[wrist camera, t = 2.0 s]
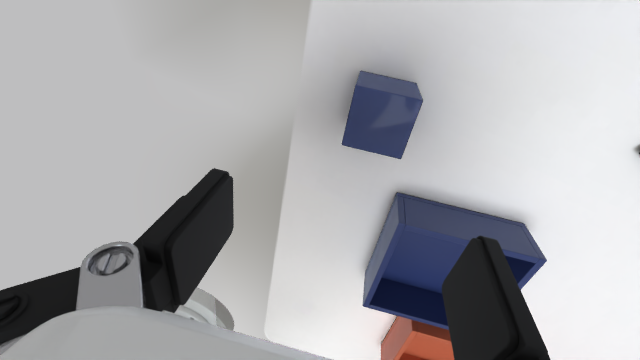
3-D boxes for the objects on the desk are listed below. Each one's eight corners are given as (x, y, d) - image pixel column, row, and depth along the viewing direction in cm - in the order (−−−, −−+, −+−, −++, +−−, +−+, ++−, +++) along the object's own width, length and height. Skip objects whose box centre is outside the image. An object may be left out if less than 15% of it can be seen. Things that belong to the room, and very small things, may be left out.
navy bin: (365, 272, 35) (362, 306, 31) (396, 191, 28) (398, 222, 24) (466, 299, 34) (477, 338, 30) (524, 223, 27) (547, 260, 23)
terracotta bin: (380, 344, 42) (380, 379, 38) (409, 294, 35) (412, 330, 31) (464, 368, 41) (472, 406, 37) (510, 322, 34) (525, 362, 31)
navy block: (347, 123, 25) (341, 145, 21) (360, 70, 23) (355, 84, 19) (398, 135, 25) (401, 159, 21) (417, 83, 22) (423, 100, 19)
